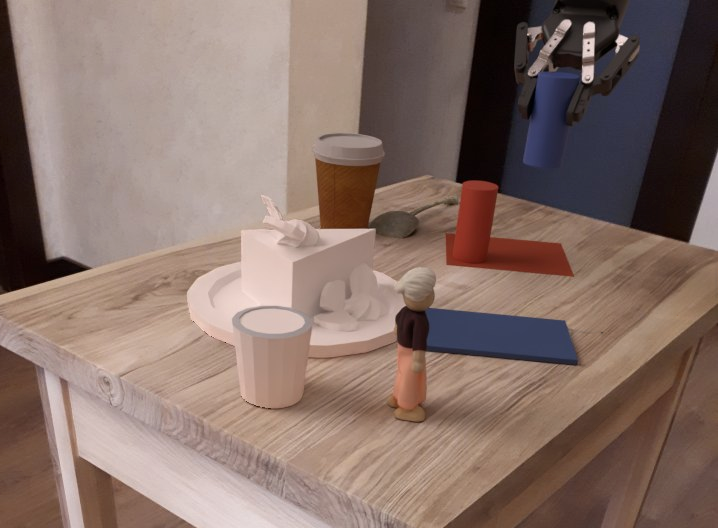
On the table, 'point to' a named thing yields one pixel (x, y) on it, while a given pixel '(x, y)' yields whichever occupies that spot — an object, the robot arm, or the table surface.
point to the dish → (303, 285)
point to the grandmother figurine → (412, 343)
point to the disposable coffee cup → (346, 178)
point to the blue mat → (500, 336)
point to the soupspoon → (403, 220)
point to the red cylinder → (475, 221)
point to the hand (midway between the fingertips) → (547, 117)
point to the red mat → (518, 256)
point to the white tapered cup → (272, 354)
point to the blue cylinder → (549, 120)
